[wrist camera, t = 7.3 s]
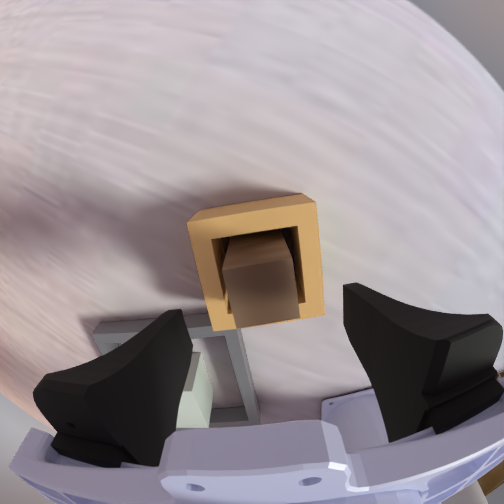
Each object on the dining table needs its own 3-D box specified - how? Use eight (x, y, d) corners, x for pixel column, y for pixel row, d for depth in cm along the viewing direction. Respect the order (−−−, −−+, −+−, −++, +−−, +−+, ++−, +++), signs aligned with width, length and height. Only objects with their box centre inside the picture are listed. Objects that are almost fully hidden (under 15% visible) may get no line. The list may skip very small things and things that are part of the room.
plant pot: (447, 450, 34) (472, 502, 19) (501, 409, 32) (532, 455, 17) (446, 466, 38) (466, 510, 23) (493, 433, 36) (516, 472, 21)
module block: (200, 352, 24) (191, 391, 19) (213, 389, 25) (208, 427, 20) (150, 354, 24) (134, 390, 19) (167, 390, 25) (156, 426, 21)
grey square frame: (236, 309, 22) (235, 323, 20) (259, 410, 26) (260, 424, 24) (100, 322, 23) (91, 334, 21) (148, 413, 27) (144, 426, 25)
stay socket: (303, 193, 19) (315, 202, 15) (313, 288, 21) (324, 315, 18) (198, 210, 19) (186, 222, 16) (219, 302, 22) (213, 331, 18)
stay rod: (278, 224, 20) (291, 257, 13) (285, 268, 21) (300, 317, 14) (231, 233, 20) (221, 270, 13) (240, 276, 21) (236, 328, 14)
